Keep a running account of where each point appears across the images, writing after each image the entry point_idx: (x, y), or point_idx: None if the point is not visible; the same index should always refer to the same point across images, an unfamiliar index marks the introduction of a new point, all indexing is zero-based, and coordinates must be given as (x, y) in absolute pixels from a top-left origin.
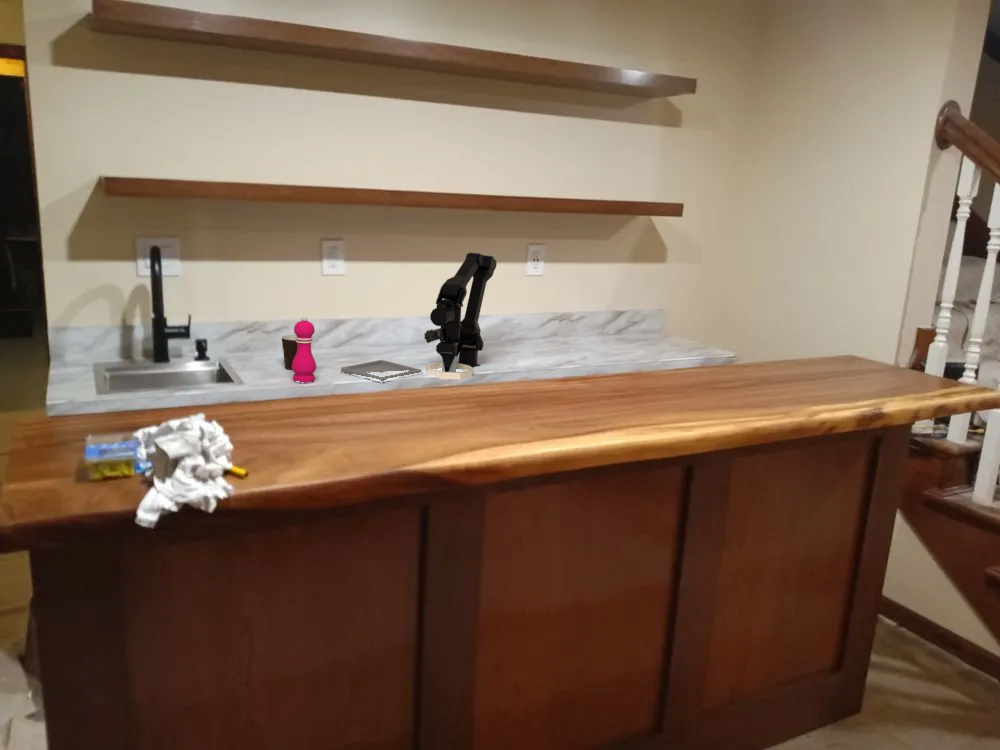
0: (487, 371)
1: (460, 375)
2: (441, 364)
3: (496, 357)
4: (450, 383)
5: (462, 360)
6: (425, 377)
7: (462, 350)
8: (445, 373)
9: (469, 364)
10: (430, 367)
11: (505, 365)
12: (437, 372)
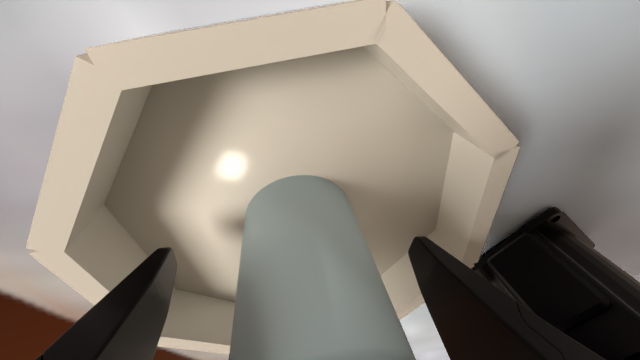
0: (411, 323)
1: None
2: (475, 165)
3: None
4: (26, 262)
5: (526, 279)
6: (70, 17)
7: (616, 344)
8: (61, 267)
9: (495, 283)
10: (384, 60)
11: None
12: (47, 196)
